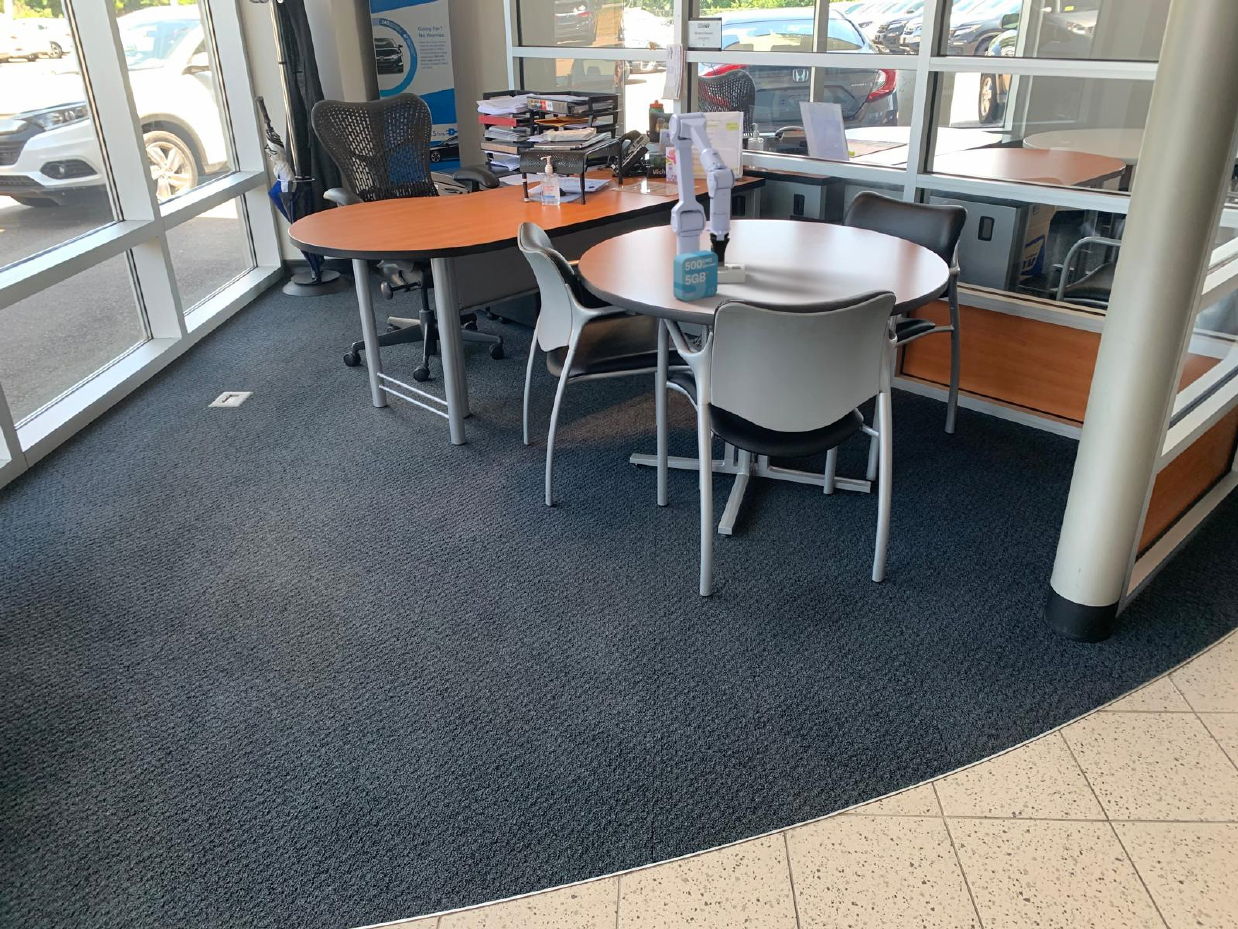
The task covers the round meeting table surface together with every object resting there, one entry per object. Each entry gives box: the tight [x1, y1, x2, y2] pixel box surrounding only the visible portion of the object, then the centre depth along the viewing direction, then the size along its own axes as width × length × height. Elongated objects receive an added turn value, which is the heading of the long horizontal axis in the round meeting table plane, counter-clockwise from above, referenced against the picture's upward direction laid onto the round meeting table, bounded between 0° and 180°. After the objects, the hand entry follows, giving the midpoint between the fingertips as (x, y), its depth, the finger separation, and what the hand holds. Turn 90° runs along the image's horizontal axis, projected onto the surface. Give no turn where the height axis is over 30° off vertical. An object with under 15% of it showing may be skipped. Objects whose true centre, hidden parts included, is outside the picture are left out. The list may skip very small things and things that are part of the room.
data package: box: [672, 249, 718, 302], centre depth 249 cm, size 12×4×12 cm, turn 122°
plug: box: [710, 244, 726, 267], centre depth 265 cm, size 4×4×6 cm
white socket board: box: [717, 263, 746, 284], centre depth 268 cm, size 10×18×3 cm, turn 86°
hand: (719, 259), depth 266 cm, fingers closed on plug, 4 cm apart
